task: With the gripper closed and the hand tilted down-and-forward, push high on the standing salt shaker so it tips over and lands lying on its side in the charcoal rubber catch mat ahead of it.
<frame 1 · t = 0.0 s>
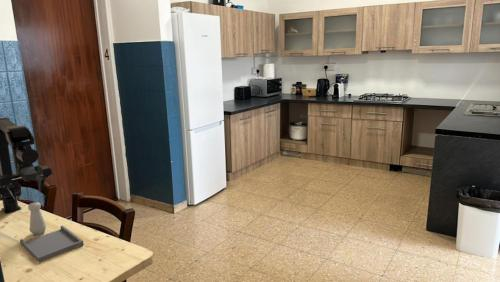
hand: (28, 195, 147), 15 cm above the table, tool pointing down, fingers open, 9 cm apart
salt shaker: (38, 233, 147), on the table
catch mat: (51, 244, 139), on the table
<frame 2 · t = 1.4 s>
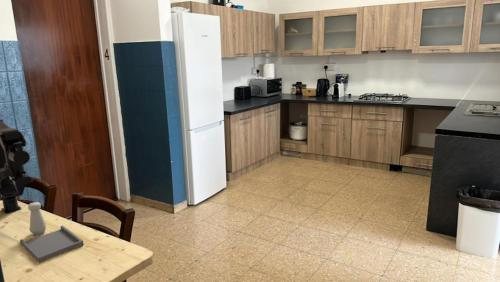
hand: (20, 195, 155), 12 cm above the table, tool pointing down, fingers closed
nothing on the table moved.
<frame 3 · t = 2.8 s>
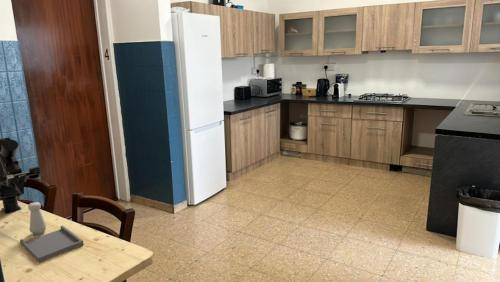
hand: (22, 194, 152), 13 cm above the table, tool tilted 45°, fingers closed
nothing on the table moved.
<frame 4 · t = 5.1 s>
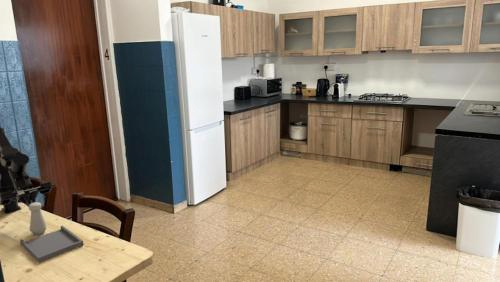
hand: (34, 210, 146), 10 cm above the table, tool tilted 45°, fingers closed
nothing on the table moved.
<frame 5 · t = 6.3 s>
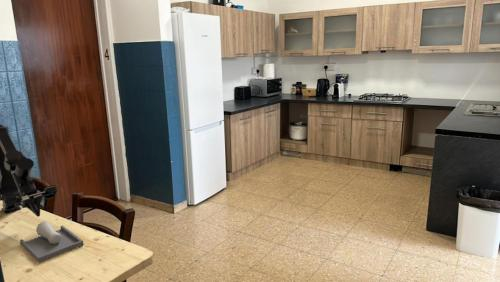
hand: (38, 216, 143), 9 cm above the table, tool tilted 45°, fingers closed
salt shaker: (41, 226, 146), point 3 cm above the table, touching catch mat
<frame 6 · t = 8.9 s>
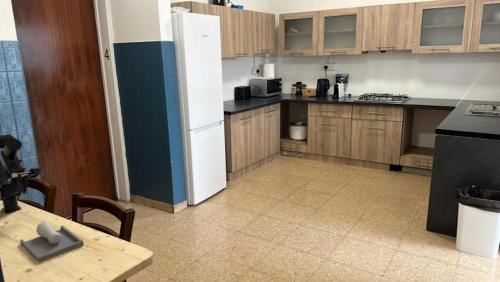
hand: (25, 193, 154), 13 cm above the table, tool tilted 35°, fingers closed
nothing on the table moved.
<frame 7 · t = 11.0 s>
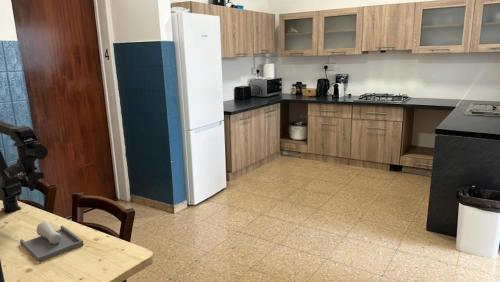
hand: (31, 190, 160), 12 cm above the table, tool pointing down, fingers closed
nothing on the table moved.
at the end: salt shaker tilted 94°; salt shaker inside the target area (9.1 cm from its centre), point 3.5 cm above the table; the gripper is holding nothing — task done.
